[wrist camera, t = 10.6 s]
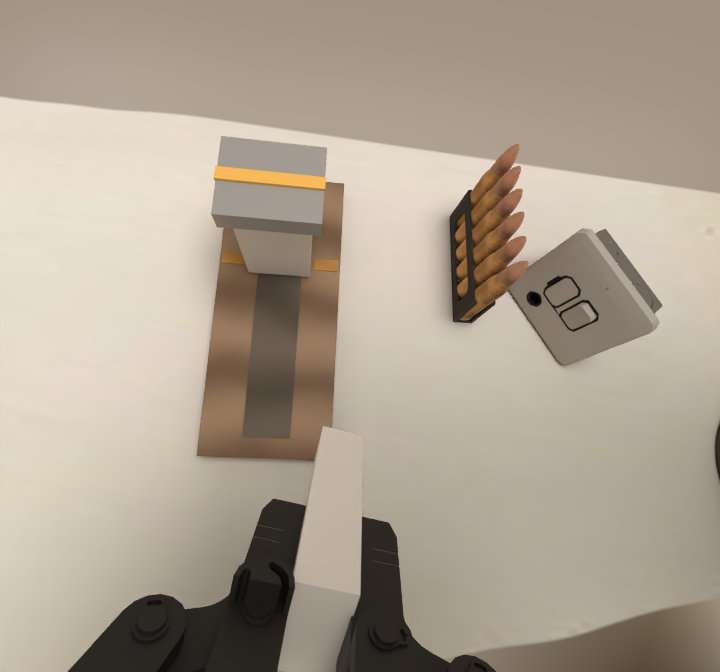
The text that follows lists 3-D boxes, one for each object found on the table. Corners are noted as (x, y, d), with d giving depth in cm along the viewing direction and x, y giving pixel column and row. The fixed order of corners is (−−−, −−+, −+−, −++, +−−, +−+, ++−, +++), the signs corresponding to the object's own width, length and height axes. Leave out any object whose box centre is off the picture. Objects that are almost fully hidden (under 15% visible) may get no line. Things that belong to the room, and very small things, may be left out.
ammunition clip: (449, 216, 42) (504, 131, 30) (467, 217, 42) (529, 134, 30) (452, 322, 39) (514, 275, 28) (472, 323, 40) (541, 276, 28)
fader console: (328, 458, 35) (330, 460, 33) (203, 454, 34) (196, 455, 32) (342, 195, 41) (344, 183, 39) (234, 185, 40) (230, 171, 38)
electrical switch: (502, 284, 41) (566, 237, 32) (540, 261, 42) (611, 210, 34) (559, 368, 40) (643, 343, 31) (596, 341, 41) (685, 310, 32)
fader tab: (318, 284, 36) (323, 222, 25) (238, 278, 35) (209, 211, 25) (321, 227, 37) (327, 145, 26) (244, 220, 36) (219, 133, 26)
